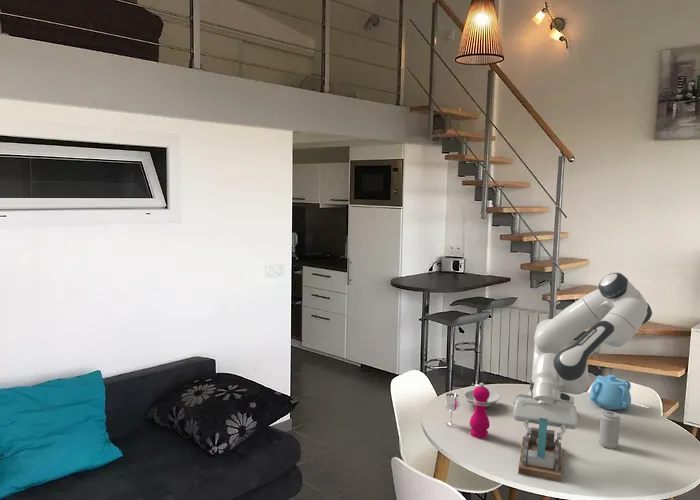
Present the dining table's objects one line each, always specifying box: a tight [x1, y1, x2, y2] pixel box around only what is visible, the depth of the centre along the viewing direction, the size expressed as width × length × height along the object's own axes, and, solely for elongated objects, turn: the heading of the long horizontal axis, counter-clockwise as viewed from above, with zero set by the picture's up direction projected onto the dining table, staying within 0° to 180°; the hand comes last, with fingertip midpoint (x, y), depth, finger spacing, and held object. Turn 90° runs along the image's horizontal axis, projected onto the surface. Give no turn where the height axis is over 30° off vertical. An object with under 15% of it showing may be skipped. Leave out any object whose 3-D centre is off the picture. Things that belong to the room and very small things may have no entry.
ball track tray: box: [518, 426, 562, 482], centre depth 198 cm, size 26×13×7 cm, turn 160°
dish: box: [462, 389, 501, 408], centre depth 246 cm, size 18×14×5 cm
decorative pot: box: [589, 374, 632, 411], centre depth 252 cm, size 16×16×14 cm
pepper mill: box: [469, 382, 490, 439], centre depth 216 cm, size 7×7×20 cm
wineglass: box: [443, 392, 460, 429], centre depth 225 cm, size 6×6×12 cm
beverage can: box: [598, 410, 621, 449], centre depth 211 cm, size 6×6×12 cm
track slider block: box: [527, 418, 554, 469], centre depth 190 cm, size 5×8×15 cm, turn 70°
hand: (543, 436), depth 191 cm, fingers open, 8 cm apart
